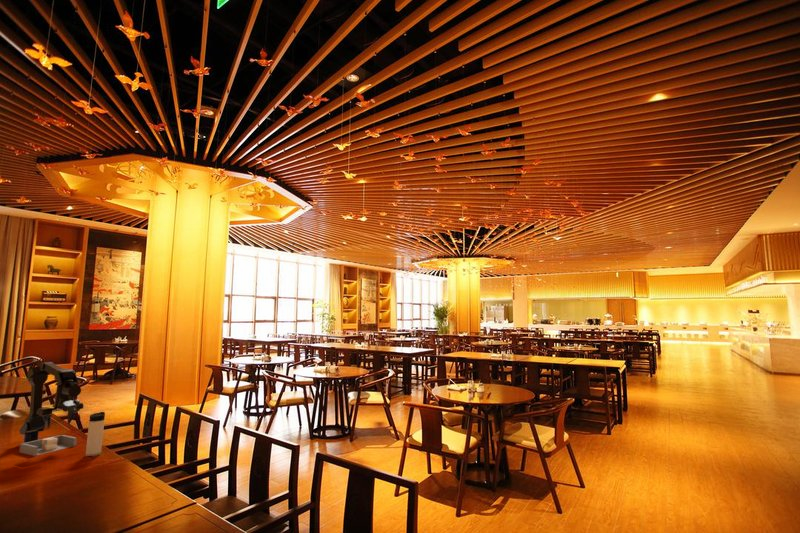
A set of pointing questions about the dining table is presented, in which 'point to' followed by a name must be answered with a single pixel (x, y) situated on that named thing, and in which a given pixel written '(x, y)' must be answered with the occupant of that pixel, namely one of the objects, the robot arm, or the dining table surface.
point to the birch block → (49, 443)
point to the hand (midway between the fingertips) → (58, 425)
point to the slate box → (36, 446)
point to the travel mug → (95, 434)
